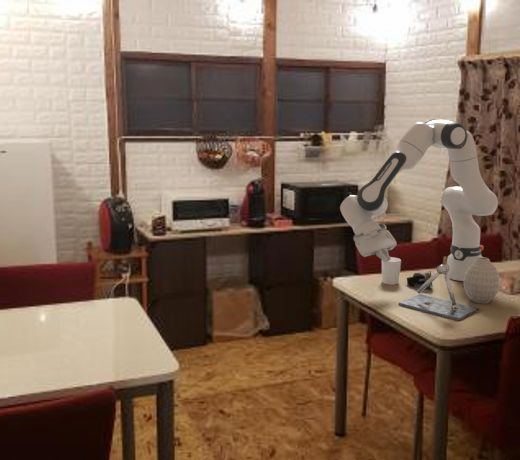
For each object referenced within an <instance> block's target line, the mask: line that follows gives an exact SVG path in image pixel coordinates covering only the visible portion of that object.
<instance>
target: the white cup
mask: <svg viewBox="0 0 520 460" xmlns="http://www.w3.org/2000/svg"><path fill="white" fill-rule="evenodd" d="M390 258H391V259H390V260H389V261H387V262H383V260H382V259H381V277H382V280H381V281H382V283H383V284H386V285H392V286H393V285H398V284H399V279H400V274H401V273H400V272H401V265H402V260H401V259H400V258H398V257H393V256H390Z"/></svg>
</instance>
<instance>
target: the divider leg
mask: <svg viewBox="0 0 520 460" xmlns="http://www.w3.org/2000/svg"><path fill="white" fill-rule="evenodd" d="M435 269H436V271H435V272H434V273H433V274H431V277H430V278H429V279H428V280H427V281H426V282H425V283H424V284H423V285H422V286H421V287H420V288H417V290H416V293H418V295H419V294H422V293H423V291H424V290H425V289H427V288H428V287H427V286H428V285H429V284H430V283H431V282H432V283H433V281H435V280H436V278H438V277H439V276H440V275H444V274H443V273H445V272H446V271H447V268H446V266H445V265H442V264H440V265H439V264H438V266H436V268H435Z"/></svg>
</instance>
